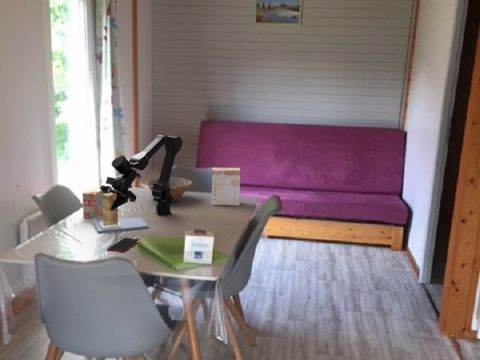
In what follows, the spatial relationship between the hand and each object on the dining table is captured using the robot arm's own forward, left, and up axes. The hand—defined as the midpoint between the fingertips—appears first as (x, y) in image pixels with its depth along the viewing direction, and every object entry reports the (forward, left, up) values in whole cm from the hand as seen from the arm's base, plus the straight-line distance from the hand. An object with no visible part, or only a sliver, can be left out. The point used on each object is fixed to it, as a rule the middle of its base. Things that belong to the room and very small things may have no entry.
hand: (107, 208), depth 211 cm
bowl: (-41, -43, -10) cm, 60 cm away
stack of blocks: (-1, -30, -10) cm, 31 cm away
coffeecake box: (-67, -24, -10) cm, 72 cm away
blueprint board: (-6, -4, -9) cm, 12 cm away
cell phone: (-2, +22, -10) cm, 25 cm away
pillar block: (-1, -1, -7) cm, 7 cm away
